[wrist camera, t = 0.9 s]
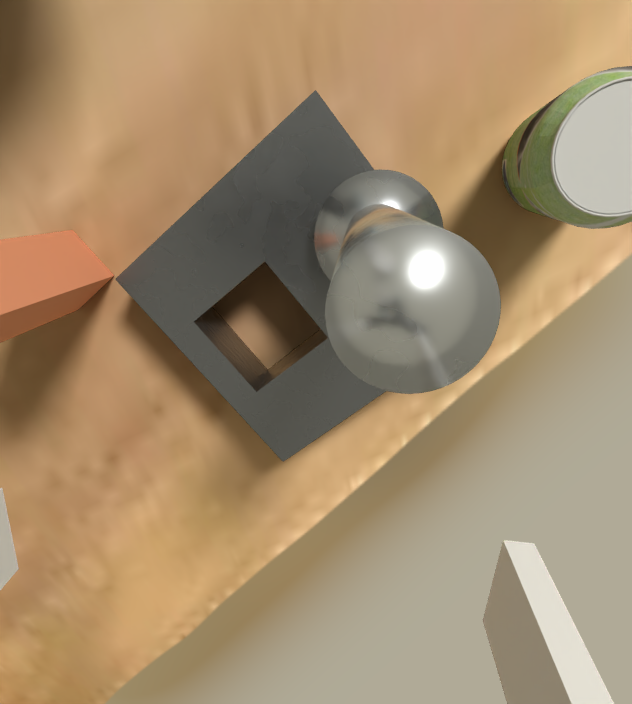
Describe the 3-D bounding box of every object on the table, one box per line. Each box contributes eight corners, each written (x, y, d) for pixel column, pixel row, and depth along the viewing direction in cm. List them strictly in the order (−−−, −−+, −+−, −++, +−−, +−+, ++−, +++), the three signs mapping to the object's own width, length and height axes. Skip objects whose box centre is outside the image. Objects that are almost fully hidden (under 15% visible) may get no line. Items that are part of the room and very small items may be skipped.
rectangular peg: (36, 266, 33) (-129, 305, 22) (72, 230, 32) (-82, 250, 21) (78, 309, 34) (-62, 368, 23) (114, 275, 33) (-13, 319, 22)
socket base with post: (143, 269, 33) (-231, 404, 12) (340, 85, 28) (291, -220, 7) (290, 433, 36) (199, 765, 15) (490, 293, 31) (753, 494, 10)
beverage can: (607, 197, 29) (769, 201, 17) (485, 232, 30) (562, 257, 19) (595, 87, 27) (767, 11, 16) (466, 129, 28) (538, 87, 17)
